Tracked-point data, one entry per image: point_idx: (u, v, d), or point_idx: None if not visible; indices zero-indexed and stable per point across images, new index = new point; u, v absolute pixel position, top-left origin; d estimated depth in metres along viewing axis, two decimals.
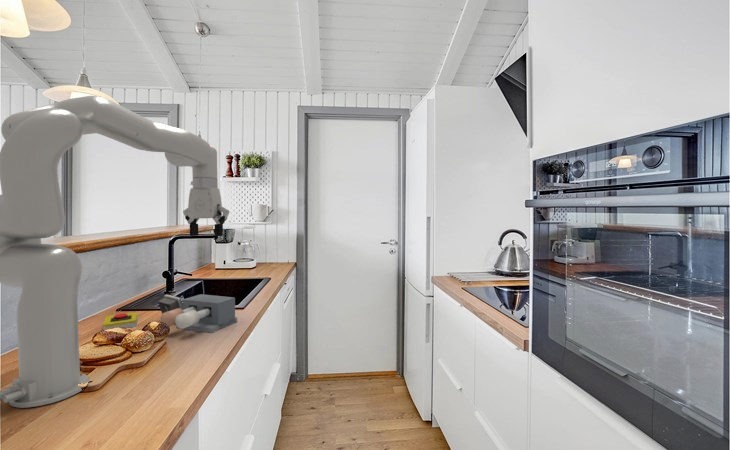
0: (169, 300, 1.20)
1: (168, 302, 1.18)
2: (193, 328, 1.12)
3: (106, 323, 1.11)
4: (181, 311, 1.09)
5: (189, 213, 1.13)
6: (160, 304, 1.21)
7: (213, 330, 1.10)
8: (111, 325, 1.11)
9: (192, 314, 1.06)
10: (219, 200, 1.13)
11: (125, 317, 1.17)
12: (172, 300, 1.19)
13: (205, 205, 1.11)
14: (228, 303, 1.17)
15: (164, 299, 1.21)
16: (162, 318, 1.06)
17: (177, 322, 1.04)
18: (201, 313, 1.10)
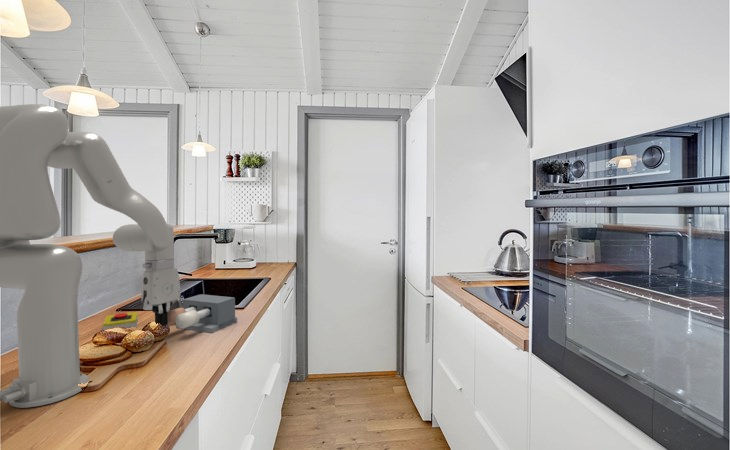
0: None
1: None
2: (193, 328, 1.12)
3: (106, 323, 1.11)
4: (183, 310, 1.10)
5: (155, 300, 0.99)
6: None
7: (213, 330, 1.10)
8: (112, 325, 1.11)
9: (192, 314, 1.06)
10: None
11: (125, 317, 1.17)
12: None
13: (173, 287, 1.05)
14: (228, 303, 1.17)
15: None
16: None
17: (177, 322, 1.04)
18: (201, 313, 1.10)
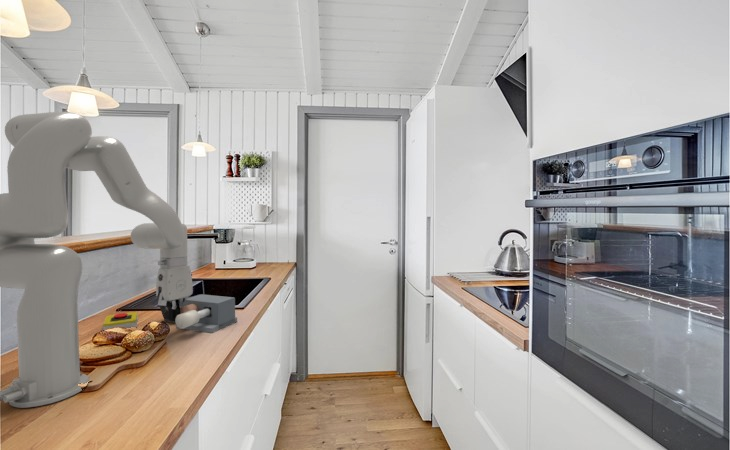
0: None
1: None
2: (193, 328, 1.12)
3: (106, 323, 1.11)
4: (195, 306, 1.14)
5: (169, 296, 1.04)
6: None
7: (213, 330, 1.10)
8: (112, 325, 1.11)
9: (192, 314, 1.06)
10: None
11: (125, 317, 1.17)
12: None
13: (186, 284, 1.10)
14: (228, 303, 1.17)
15: None
16: None
17: (177, 322, 1.04)
18: (201, 313, 1.10)
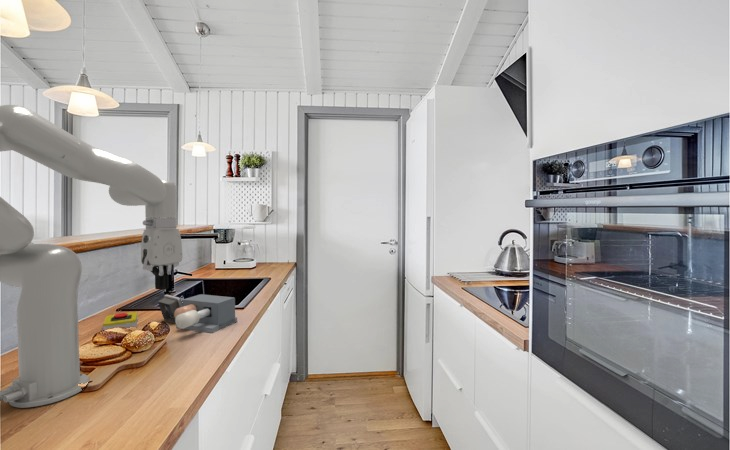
0: (169, 300, 1.20)
1: (168, 302, 1.18)
2: (193, 328, 1.12)
3: (106, 322, 1.11)
4: (194, 307, 1.14)
5: (155, 260, 0.93)
6: (160, 304, 1.21)
7: (213, 330, 1.10)
8: (112, 324, 1.11)
9: (192, 314, 1.06)
10: None
11: (125, 317, 1.17)
12: (172, 300, 1.19)
13: (175, 248, 0.99)
14: (228, 303, 1.17)
15: (164, 299, 1.21)
16: (175, 314, 1.11)
17: (177, 322, 1.04)
18: (201, 313, 1.10)
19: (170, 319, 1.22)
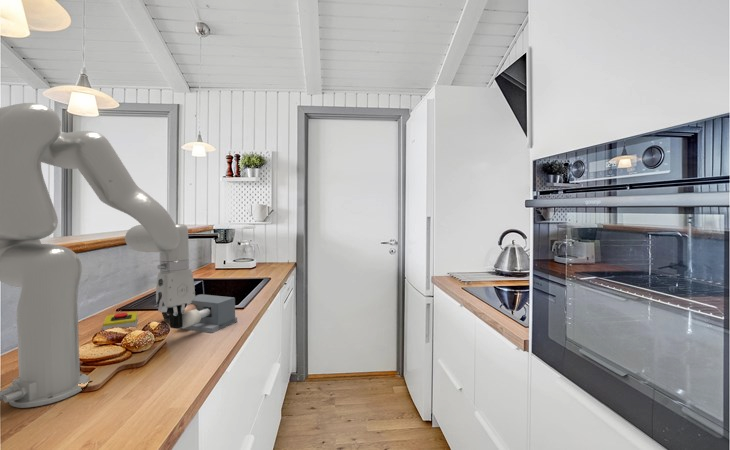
0: None
1: None
2: (193, 328, 1.12)
3: (106, 322, 1.12)
4: (194, 307, 1.14)
5: (170, 302, 0.97)
6: None
7: (213, 330, 1.10)
8: (112, 324, 1.11)
9: (194, 313, 1.06)
10: None
11: (125, 316, 1.18)
12: None
13: (188, 288, 1.03)
14: (228, 303, 1.17)
15: None
16: None
17: None
18: (203, 312, 1.11)
19: None
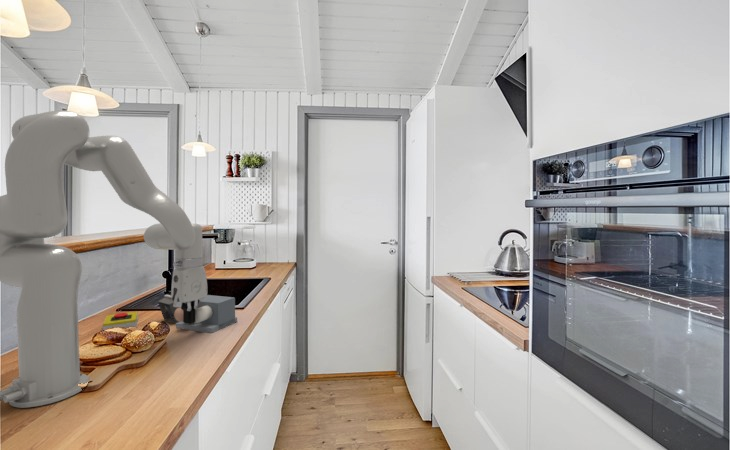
0: (169, 300, 1.20)
1: (168, 302, 1.18)
2: (193, 328, 1.12)
3: (106, 322, 1.12)
4: None
5: (185, 298, 1.02)
6: (160, 304, 1.21)
7: (213, 330, 1.10)
8: (112, 324, 1.11)
9: (206, 309, 1.11)
10: None
11: (125, 316, 1.18)
12: None
13: (201, 285, 1.08)
14: (228, 303, 1.17)
15: (164, 299, 1.21)
16: (175, 314, 1.11)
17: None
18: None
19: (170, 319, 1.22)
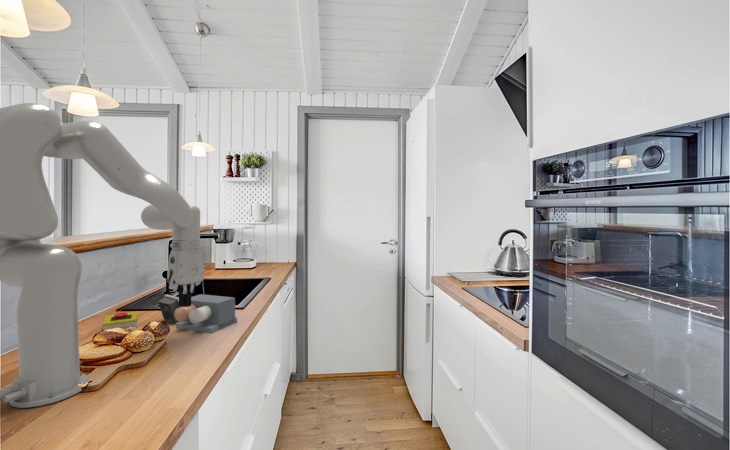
0: (169, 300, 1.20)
1: (168, 302, 1.18)
2: (193, 328, 1.12)
3: (106, 322, 1.12)
4: (194, 307, 1.14)
5: (181, 280, 1.00)
6: (160, 304, 1.21)
7: (213, 330, 1.10)
8: (112, 324, 1.11)
9: (205, 310, 1.11)
10: None
11: (125, 316, 1.18)
12: (172, 300, 1.19)
13: (198, 268, 1.06)
14: (228, 303, 1.17)
15: (164, 299, 1.21)
16: (175, 314, 1.11)
17: (190, 317, 1.09)
18: None
19: (170, 319, 1.22)
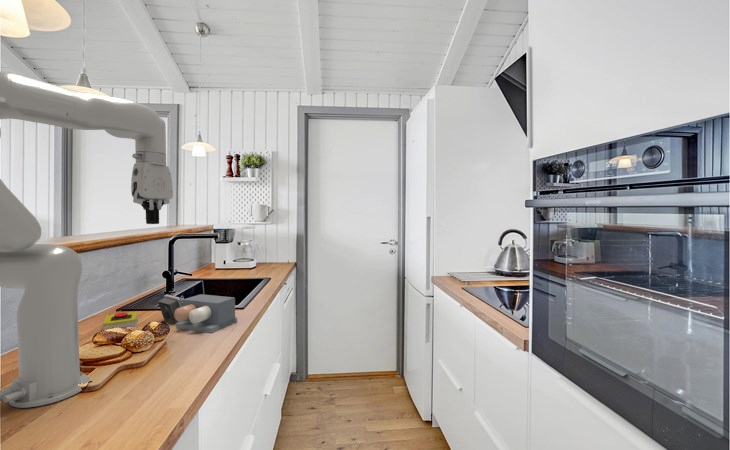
0: (169, 300, 1.20)
1: (168, 302, 1.18)
2: (193, 328, 1.12)
3: (106, 322, 1.12)
4: (194, 307, 1.14)
5: (145, 192, 0.95)
6: (160, 304, 1.21)
7: (213, 330, 1.10)
8: (112, 324, 1.12)
9: (205, 310, 1.11)
10: None
11: (125, 316, 1.18)
12: (172, 300, 1.19)
13: (165, 185, 1.01)
14: (228, 303, 1.17)
15: (164, 299, 1.21)
16: (175, 314, 1.11)
17: (190, 317, 1.09)
18: None
19: (170, 319, 1.22)
